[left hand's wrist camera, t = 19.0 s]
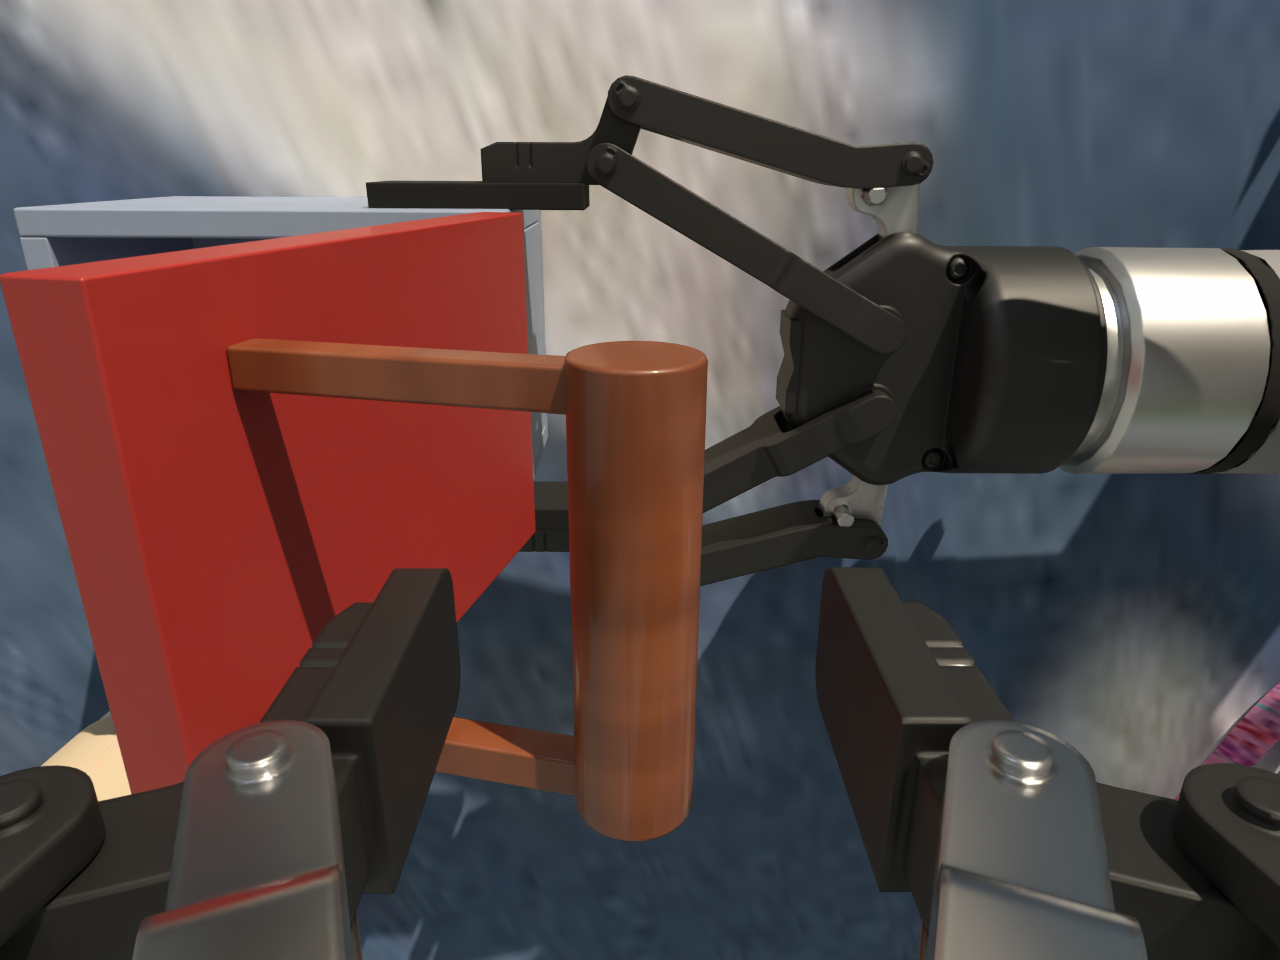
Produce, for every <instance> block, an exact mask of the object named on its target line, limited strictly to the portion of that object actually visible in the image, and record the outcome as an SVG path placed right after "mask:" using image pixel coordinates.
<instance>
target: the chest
mask: <svg viewBox="0 0 1280 960" xmlns="http://www.w3.org/2000/svg"><path fill="white" fill-rule="evenodd" d="M477 212H518V213H522V215H523V239H524V263H525V287H526V312H527V336H528V354H536V355H545V326H544V297H543V268H542V239H541V210H509V209H417V208H368V198H367V197H226V196H172V197H158V198H144V199H131V200H117V201H103V202H89V203H75V204H62V205H48V206H34V207H20V208H15V209H14V215H15V219H16V223H17V227H18V231H19V235H20V236H22V237H21V238H20V241H21V245H22V249H23V253H24V257H25V261H26V265H27V270H35V269H43V268H51V267H58V266H66V265H74V264H82V263H89V262H97V261H105V260H113V259H120V258H128V257H136V256H144V255H151V254H159V253H167V252H174V251H182V250H190V249H198V248H205V247H213V246H221V245H229V244H236V243H244V242H252V241H260V240H267V239H275V238H283V237H291V236H298V235H306V234H314V233H322V232H329V231H337V230H345V229H353V228H360V227H368V226H376V225H384V224H391V223H399V222H407V221H415V220H422V219H430V218H438V217H446V216H453V215H461V214H469V213H477ZM531 432H532V456H533V480H534V477H535V474H536V471H537V468H538V465H539V462H540V459H541V456H542V453H543V450H544V447H545V444H546V441H547V438H548V414H547V413H538V412H531Z"/></svg>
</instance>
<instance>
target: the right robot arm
mask: <svg viewBox="0 0 1280 960" xmlns="http://www.w3.org/2000/svg"><path fill="white" fill-rule="evenodd" d="M640 129H644V130H647V131H650V132H654V133H657V134H660V135H663V136H667V137H670V138H673V139H676V140H679V141H683V142H686V143H689V144H692V145H696V146H699V147H702V148H705V149H708V150H712V151H715V152H718V153H721V154H725V155H728V156H731V157H734V158H737V159H741V160H744V161H747V162H750V163H754V164H757V165H760V166H763V167H766V168H770V169H773V170H776V171H779V172H783V173H786V174H789V175H792V176H795V177H799V178H802V179H805V180H808V181H812V182H816V183H820V184H824V185H830V186H838V187H846V199H847V202H848V204H849V206H850V207H851V208H852V209H853V210H855V211H856V212H860V213H865V214H868V215H870V216H872V217H873V218H874V220H875V221H876V223H877V225H878V231H879V234H877V235H875V236H874V237H872V238H871V239H869V240H868V241H866V242H865V243H864V244H862V245H861V246H859V247H858V248H856V249H855V250H854V251H852V252H851V253H849V254H848V255H846V256H845V257H843V258H842V259H841V260H839V261H838V262H836V263H835V264H833V265H832V266H831V267H829V268H828V269H826V270H825V271H821V270H819V269H818V268H816V267H814V266H813V265H811V264H810V263H808V262H806V261H805V260H803V259H801V258H800V257H798V256H796V255H795V254H793V253H791V252H790V251H788V250H787V249H785V248H783V247H782V246H780V245H778V244H777V243H775V242H773V241H772V240H770V239H769V238H767V237H765V236H764V235H762V234H760V233H759V232H757V231H755V230H754V229H752V228H750V227H749V226H747V225H746V224H744V223H742V222H741V221H739V220H737V219H736V218H734V217H732V216H731V215H729V214H728V213H726V212H724V211H723V210H721V209H719V208H718V207H716V206H714V205H713V204H711V203H709V202H708V201H706V200H705V199H703V198H701V197H700V196H698V195H696V194H695V193H693V192H691V191H690V190H688V189H687V188H685V187H683V186H682V185H680V184H678V183H677V182H675V181H673V180H672V179H670V178H668V177H667V176H665V175H664V174H662V173H660V172H659V171H657V170H655V169H654V168H652V167H650V166H649V165H647V164H645V163H644V162H642V161H641V160H639V159H637V158H636V157H634V156H632V153H633V150H634V147H635V144H636V141H637V138H638V135H639V132H640ZM481 163H482V180H483V181H381V182H368V183H366V189H367V198H368V208H417V209H509V210H585V209H586V208H587V207H588V206H589V185H601V186H603V187H604V188H606V189H608V190H609V191H611V192H613V193H614V194H616V195H618V196H619V197H621V198H623V199H624V200H626V201H628V202H629V203H631V204H633V205H634V206H636V207H638V208H639V209H641V210H643V211H644V212H646V213H648V214H649V215H651V216H653V217H654V218H656V219H658V220H659V221H661V222H663V223H664V224H666V225H668V226H669V227H671V228H673V229H674V230H676V231H678V232H679V233H681V234H683V235H684V236H686V237H688V238H689V239H691V240H693V241H695V242H696V243H698V244H700V245H701V246H703V247H705V248H706V249H708V250H710V251H711V252H713V253H715V254H716V255H718V256H720V257H721V258H723V259H725V260H726V261H728V262H730V263H731V264H733V265H735V266H736V267H738V268H740V269H741V270H743V271H745V272H746V273H748V274H750V275H751V276H753V277H755V278H756V279H758V280H760V281H761V282H763V283H765V284H766V285H768V286H770V287H771V288H773V289H774V290H776V291H777V292H779V293H780V294H782V295H783V296H785V297H787V298H788V299H790V301H789V302H788V304H787V307H786V309H785V310H781V324H780V335H781V340H782V344H783V349H784V358H783V361H782V364H781V367H780V370H779V373H778V376H777V388H776V399H777V401H778V402H779V404H780V406H779V407H777V408H775V409H773V410H771V411H769V412H768V413H766V414H764V415H762V416H760V417H759V418H758V419H757V420H756V421H755V422H754V423H753V424H752V425H751V426H750V427H748V428H746V429H744V430H742V431H741V432H739V433H737V434H735V435H733V436H731V437H729V438H727V439H725V440H723V441H721V442H720V443H718V444H716V445H714V446H712V447H710V448H708V449H706V450H705V454H704V483H703V513H704V512H706V511H708V510H710V509H712V508H714V507H716V506H718V505H720V504H722V503H724V502H726V501H728V500H730V499H732V498H734V497H736V496H738V495H740V494H742V493H744V492H746V491H748V490H750V489H752V488H753V487H755V486H757V485H759V484H761V483H763V482H765V481H767V480H769V479H771V478H773V477H777V476H782V477H784V476H788V475H791V474H793V473H795V472H797V471H799V470H801V469H803V468H805V467H807V466H809V465H811V464H813V463H815V462H817V461H819V460H821V459H823V458H825V457H827V456H828V457H830V458H831V459H832V460H834V461H835V462H836V463H838V464H839V465H841V466H842V467H843V468H845V469H846V470H847V471H849V472H850V473H851V474H853V475H854V476H853V478H852V479H851V481H850V482H849V483H848V484H847V485H845V486H843V487H839V488H833V489H829V490H827V491H826V492H825V493H824V494H823V496H822V497H821V499H820V500H809V501H800V502H795V503H789V504H785V505H781V506H777V507H774V508H770V509H766V510H762V511H758V512H754V513H750V514H746V515H742V516H738V517H734V518H730V519H726V520H722V521H718V522H714V523H710V524H706V525H702V542H701V571H700V586H702V585H706V584H711V583H715V582H719V581H723V580H727V579H731V578H735V577H739V576H743V575H747V574H751V573H755V572H759V571H763V570H768V569H772V568H776V567H780V566H784V565H788V564H792V563H796V562H800V561H804V560H808V559H812V558H816V557H820V556H822V557H836V558H850V559H864V560H870V559H876V558H878V557H880V556H881V555H882V554H883V553H884V552H885V551H886V548H887V546H888V539H887V537H886V535H885V533H884V532H883V530H882V529H881V527H880V523H881V518H882V513H883V507H884V502H885V497H886V492H887V487H888V484H891V483H894V482H896V481H898V480H900V479H902V478H904V477H906V476H908V475H911V474H914V473H919V472H942V473H1047V472H1050V471H1052V470H1054V469H1056V468H1057V467H1059V468H1060V469H1062V470H1063V471H1065V472H1069V473H1073V474H1144V473H1189V474H1211V473H1226V474H1275V475H1280V250H1236V249H1220V248H1131V247H1092V248H1085V249H1083V250H1080V251H1078V252H1076V253H1072V252H1071V251H1069V250H1068V249H1065V248H1062V247H1015V246H940V245H936V244H934V243H932V242H930V241H929V240H927V239H926V238H924V237H923V236H921V235H919V234H917V228H918V205H919V183H921V182H922V181H924V180H925V179H926V178H927V177H928V175H929V174H930V172H931V170H932V166H933V158H932V154H931V152H930V150H929V149H928V148H927V147H926V146H924V145H923V144H920V143H901V144H887V145H874V146H861V147H856V146H853V145H850V144H846V143H843V142H840V141H837V140H834V139H831V138H827V137H824V136H821V135H818V134H815V133H812V132H808V131H805V130H802V129H799V128H796V127H793V126H789V125H786V124H783V123H780V122H777V121H774V120H770V119H767V118H764V117H761V116H758V115H755V114H752V113H748V112H745V111H742V110H739V109H736V108H733V107H729V106H726V105H723V104H720V103H717V102H714V101H710V100H707V99H704V98H701V97H698V96H695V95H691V94H688V93H685V92H682V91H679V90H676V89H672V88H669V87H666V86H663V85H660V84H657V83H653V82H650V81H647V80H644V79H641V78H638V77H634V76H623V77H620V78H618V79H617V80H616V81H615V82H613V83H612V85H611V87H610V89H609V91H608V97H607V100H606V103H605V106H604V109H603V113H602V116H601V119H600V122H599V124H598V127H597V129H596V131H595V132H594V133H593V134H592V135H591V136H590V137H589V138H587V139H586V140H583V141H581V142H496V143H494V144H491V145H489V146H487V147H484V148H482V149H481ZM534 504H535V529H536V531H535V533H534V534H533V535H532V537H531V538H530V539H529V540H528V541H527V542H526V543H525V545H524V546H523V547H522V548H521V549H520V550H519V552H533V551H536V552H545V551H547V552H570V548H569V510H568V482H534Z"/></svg>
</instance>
